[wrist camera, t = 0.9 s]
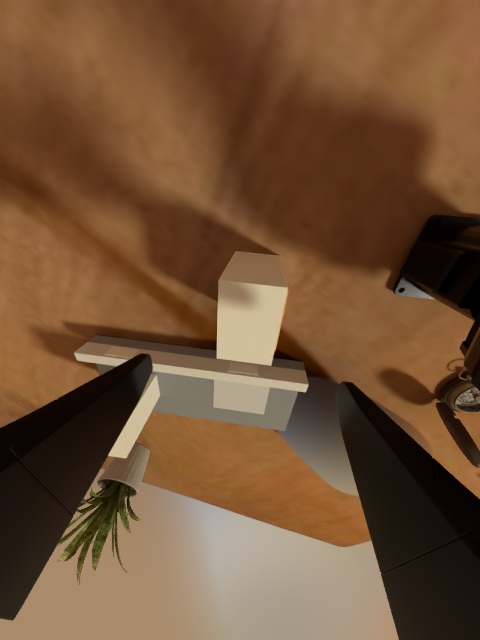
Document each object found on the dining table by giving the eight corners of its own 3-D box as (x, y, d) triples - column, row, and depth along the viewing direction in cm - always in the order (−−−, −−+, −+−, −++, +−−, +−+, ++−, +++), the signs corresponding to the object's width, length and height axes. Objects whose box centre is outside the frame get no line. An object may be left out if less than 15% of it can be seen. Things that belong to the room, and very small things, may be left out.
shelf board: (303, 360, 24) (308, 383, 21) (283, 421, 30) (286, 445, 27) (95, 333, 25) (73, 351, 22) (118, 397, 32) (102, 417, 29)
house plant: (80, 429, 38) (-28, 562, 24) (138, 420, 34) (50, 570, 20) (126, 467, 44) (62, 589, 30) (179, 462, 41) (134, 599, 27)
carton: (282, 255, 18) (292, 288, 11) (271, 313, 21) (274, 366, 14) (235, 250, 18) (218, 280, 12) (231, 308, 21) (216, 358, 15)
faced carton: (111, 367, 26) (55, 426, 19) (156, 373, 26) (116, 435, 19) (118, 389, 28) (71, 449, 21) (160, 395, 28) (126, 458, 21)
